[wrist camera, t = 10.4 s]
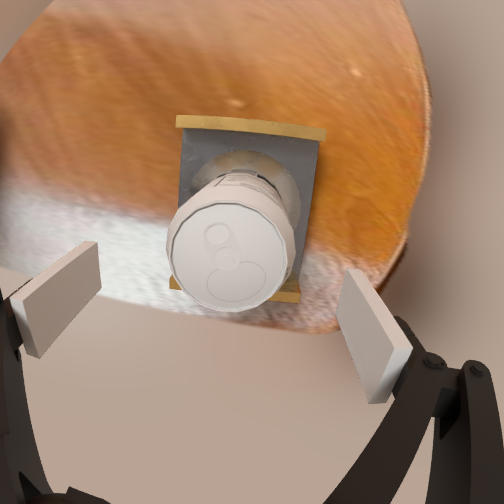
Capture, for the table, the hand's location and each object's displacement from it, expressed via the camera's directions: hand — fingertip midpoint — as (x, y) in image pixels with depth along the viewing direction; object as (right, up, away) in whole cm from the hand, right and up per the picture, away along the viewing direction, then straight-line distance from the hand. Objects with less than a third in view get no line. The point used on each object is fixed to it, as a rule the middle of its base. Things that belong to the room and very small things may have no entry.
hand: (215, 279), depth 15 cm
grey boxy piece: (+1, +8, +22) cm, 23 cm away
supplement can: (+1, +6, +17) cm, 18 cm away
